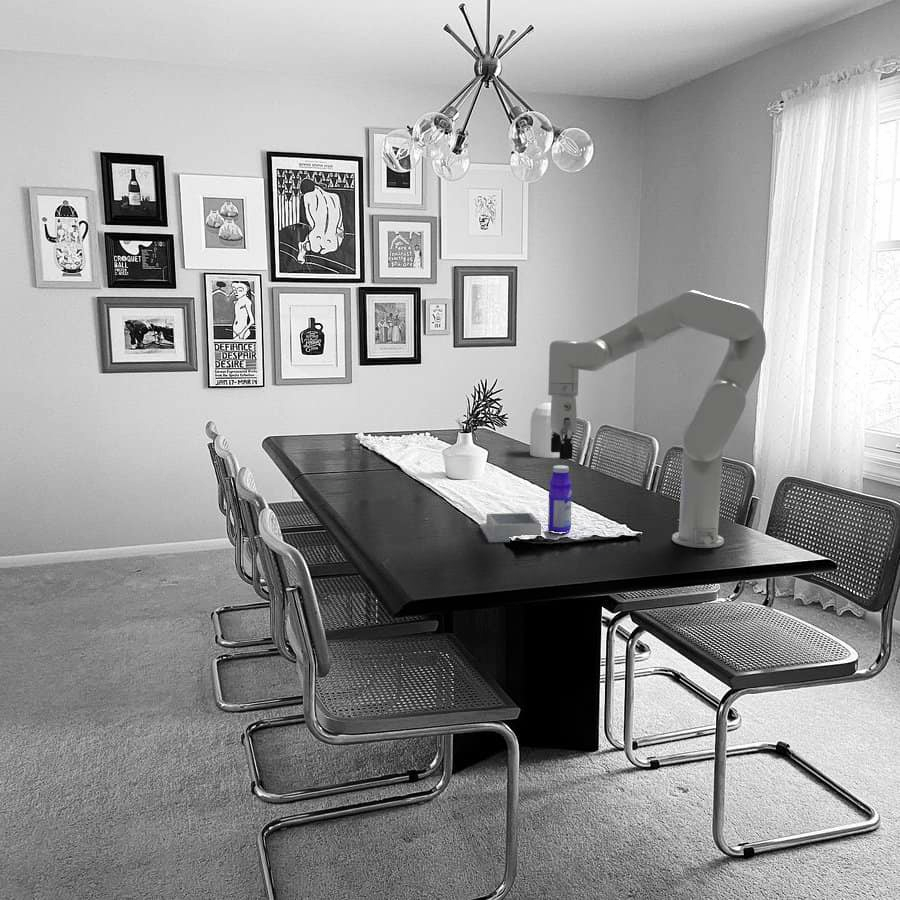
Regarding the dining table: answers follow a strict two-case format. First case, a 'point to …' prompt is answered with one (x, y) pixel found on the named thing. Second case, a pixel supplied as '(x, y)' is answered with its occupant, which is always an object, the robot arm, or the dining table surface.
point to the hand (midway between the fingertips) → (561, 455)
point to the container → (541, 432)
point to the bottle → (560, 500)
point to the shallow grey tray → (509, 526)
